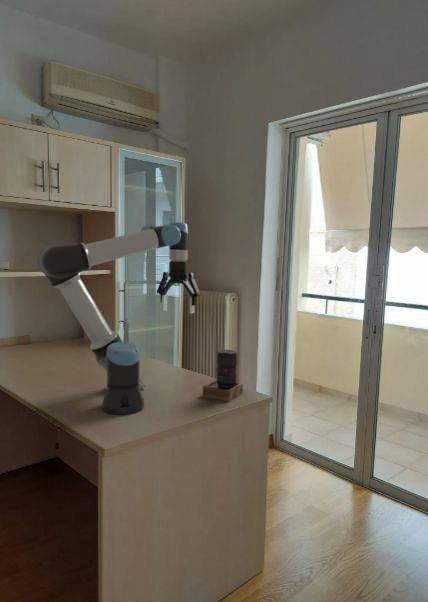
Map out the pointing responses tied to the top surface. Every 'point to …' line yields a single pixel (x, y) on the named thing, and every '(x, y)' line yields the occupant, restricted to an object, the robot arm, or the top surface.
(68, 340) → the top surface
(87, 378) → the top surface
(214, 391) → the square wooden tray
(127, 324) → the eiffel tower
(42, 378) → the top surface
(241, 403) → the top surface
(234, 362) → the camera lens
